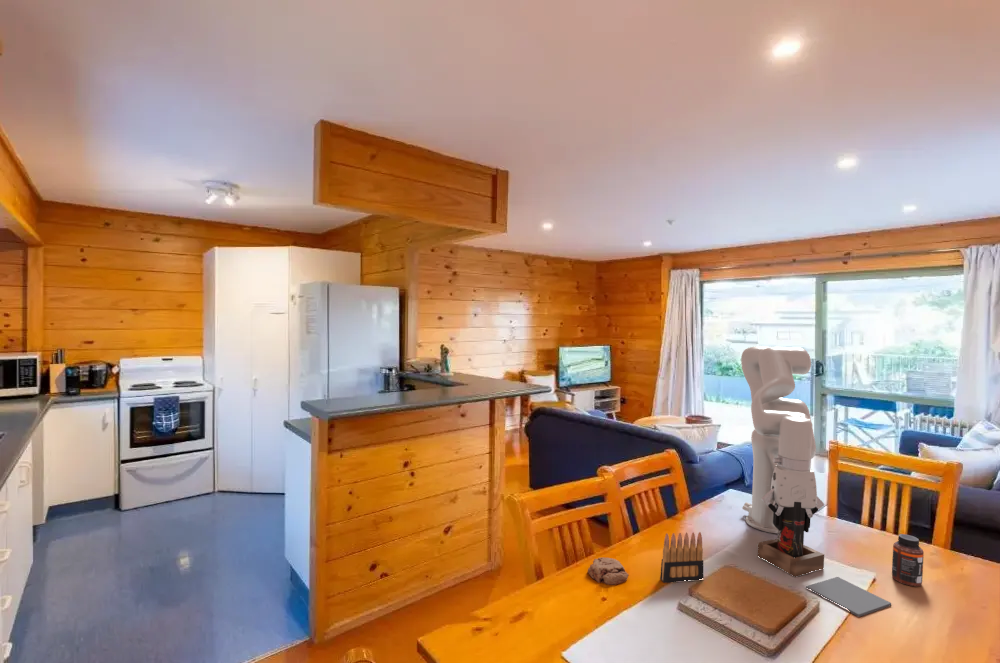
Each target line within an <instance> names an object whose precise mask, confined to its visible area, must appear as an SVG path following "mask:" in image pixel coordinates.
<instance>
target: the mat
mask: <svg viewBox="0 0 1000 663" xmlns="http://www.w3.org/2000/svg"><path fill="white" fill-rule="evenodd" d="M806 588H808V589H811V590H812V591H814V592H816V593H818V594H820V595H822V596H823V597H825V598H827V599H829V600H831V601H833V602H835V603H837V604H839V605H841V606H843V607H845V608H847V609H848V610H849V611H850V612H851V613H850V612H849V613H850V614H852V615H854V616H856V617H858V618H859V617H863V616H866V615H868V614H871V613H874V612H878V611H881V610H882V609H886V608H888V607H890V606H892V602H891V601H888V600H886V599H884V598H882V597H880V596H878V595H875V594H874V593H872V592H870V591H867V590H866V589H863V588H861V587H860V586H858V585H855V584H854V583H851V582H849V581H847V580H845V579H844V578H842V577H839V576H836V577H833V578H829V579H825V580H822V581H818V582H815V583H812V584H808V585H806V586H805V589H806ZM808 589H807V590H808ZM812 591H811V592H812ZM823 597H822V598H823Z"/></svg>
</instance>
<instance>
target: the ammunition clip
mask: <svg viewBox="0 0 1000 663" xmlns="http://www.w3.org/2000/svg"><path fill="white" fill-rule="evenodd" d="M670 537H671V538H670ZM696 540H697V541H696ZM703 550H704V548H703V537H702V533H701V531H699V532H698V535H697V538H696V534H695V532H694V531H692V533H691V536H690V538H689V533H688V532H685V533H684V538H683V536H682V533H681V532H679V533H678V535H677V540H676V534H675V533H674V532H673V533H672V535H671V536H669V534H668V533H666V534H665V537H664V542H663V548H662V559H661V564H660V566H661V567H660V575H659V576H660V577H659V579H660V580H661V581H662V583H664V584H668V583H669V584H670V583H671V582H673V583H677V582H676V581H684V580H686V581H688V580H699V579H702V578H704V574H705V573H704V560H703V558H704V557H703V553H704V552H703Z"/></svg>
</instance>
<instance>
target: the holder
mask: <svg viewBox="0 0 1000 663" xmlns="http://www.w3.org/2000/svg"><path fill="white" fill-rule="evenodd" d="M777 546H778V537H777V538H776V537H775V538H773V539H768V540H764V541H761V542H758V543H757V556H759V557H760V558H763V559H765V560H767V561H768V562H770V563H772V564H774V565H775V566H777V567H779V568H781V569H783V570H784V571H783V570H782V571H783V572H785V571H786V572H785V573H787V572H788V573H789V575H790V574H791V575H790V576H792V575H793V576H792V577H794V576H795V577H794V578H797V577H796V576H798V577H801V576H803V575H802V574H805V575H807V574H806V573H808V574H810V573H809V572H811V571H815V570H819V569H823V568H824V567H825V554H824V553H822V552H821V551H818V550H816V549H813V548H811V547H809V546H807V545H805V544H803V556H800V557H796V558H793V557H791V556H789V555H787V554H785V553H783V552H781V551H779V550H777ZM757 556H756V557H757ZM760 558H759V559H760ZM768 562H767V563H768ZM770 563H769V564H770ZM772 564H771V565H772ZM775 566H774V567H775ZM777 567H776V568H777ZM779 568H778V569H779ZM781 569H780V570H781ZM824 569H825V568H824ZM824 569H823V570H824ZM819 571H820V570H819ZM788 573H787V574H788ZM800 575H801V576H800Z"/></svg>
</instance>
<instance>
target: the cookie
mask: <svg viewBox="0 0 1000 663" xmlns="http://www.w3.org/2000/svg"><path fill="white" fill-rule="evenodd" d="M587 573H588V574H589V576H590V578H591V579H593V580H594V581H596V582H597V583H599V584H600V583H602V584H605V585H610V586H614V585H615V586H616V585H618V584H621V583H624V582H626V581H627V580H628V577H629V573H627V571H626V570H625V567H624V566H623V564H622V563H621V561H619V560H617V559H616V558H612V557H611V558H610V557H597V558H594V559H593V561H592V564H590V565H589V567H588V568H587Z"/></svg>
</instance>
